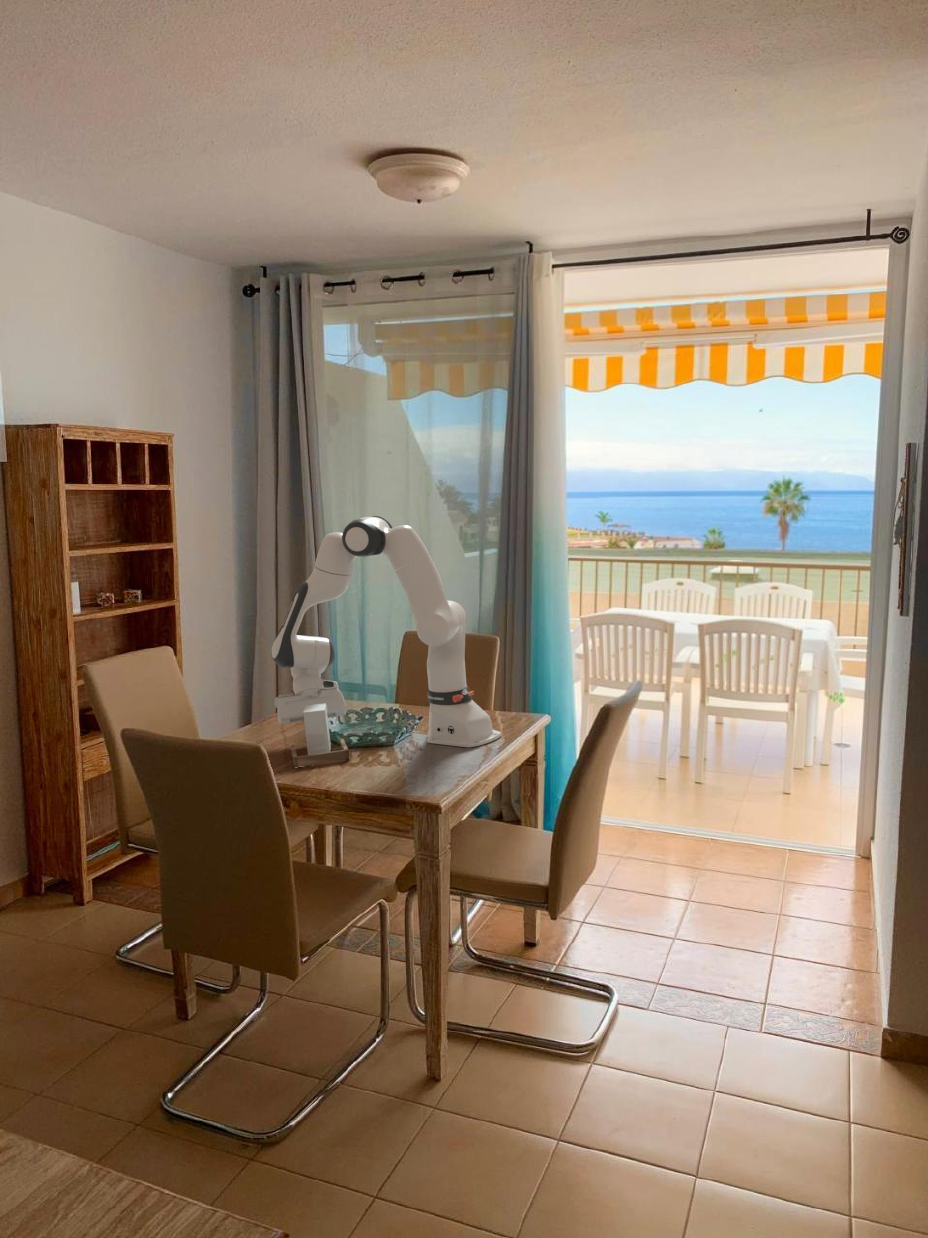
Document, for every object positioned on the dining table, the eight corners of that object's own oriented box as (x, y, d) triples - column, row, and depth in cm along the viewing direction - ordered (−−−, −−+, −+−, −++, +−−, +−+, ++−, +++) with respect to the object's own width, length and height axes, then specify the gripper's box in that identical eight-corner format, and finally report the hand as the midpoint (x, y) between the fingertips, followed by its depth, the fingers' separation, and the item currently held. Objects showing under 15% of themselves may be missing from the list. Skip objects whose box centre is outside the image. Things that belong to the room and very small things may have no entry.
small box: (309, 748, 280) (304, 705, 278) (331, 746, 281) (326, 702, 279) (307, 756, 272) (302, 712, 270) (330, 754, 273) (325, 709, 271)
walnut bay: (292, 756, 274) (290, 745, 274) (344, 748, 277) (343, 738, 277) (294, 768, 262) (293, 758, 262) (349, 760, 265) (348, 750, 265)
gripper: (273, 690, 283) (278, 730, 276) (342, 681, 288) (349, 720, 280) (274, 701, 289) (279, 741, 281) (342, 692, 293) (349, 731, 285)
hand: (314, 731), depth 280 cm, fingers closed
